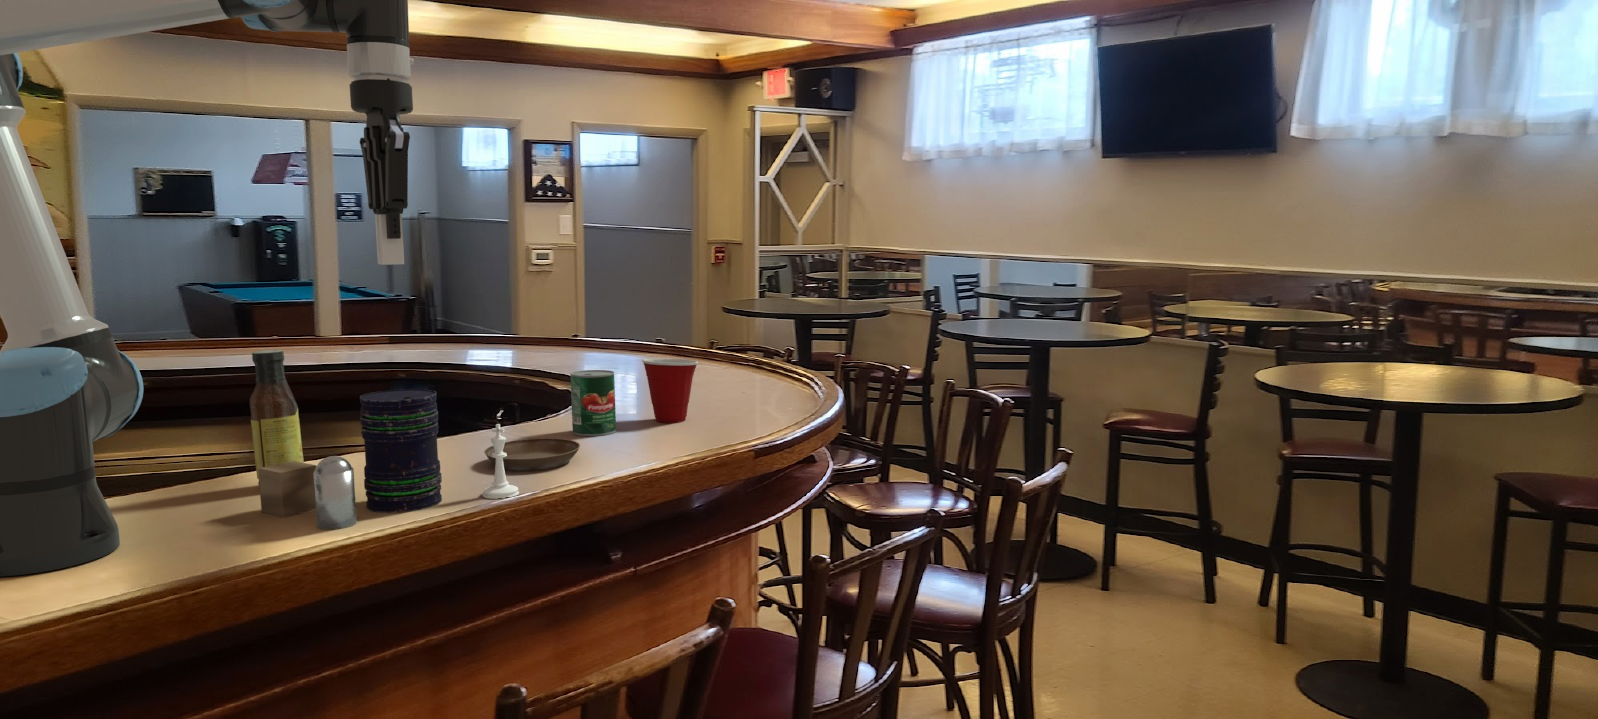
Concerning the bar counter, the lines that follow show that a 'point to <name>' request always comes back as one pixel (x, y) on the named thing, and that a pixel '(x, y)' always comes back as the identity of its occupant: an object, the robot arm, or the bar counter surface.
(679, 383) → the plastic cup
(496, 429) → the chess piece
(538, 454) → the saucer
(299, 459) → the sauce bottle
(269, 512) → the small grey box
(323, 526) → the metal shaker
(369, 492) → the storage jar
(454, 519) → the bar counter surface
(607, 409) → the canned tomato
